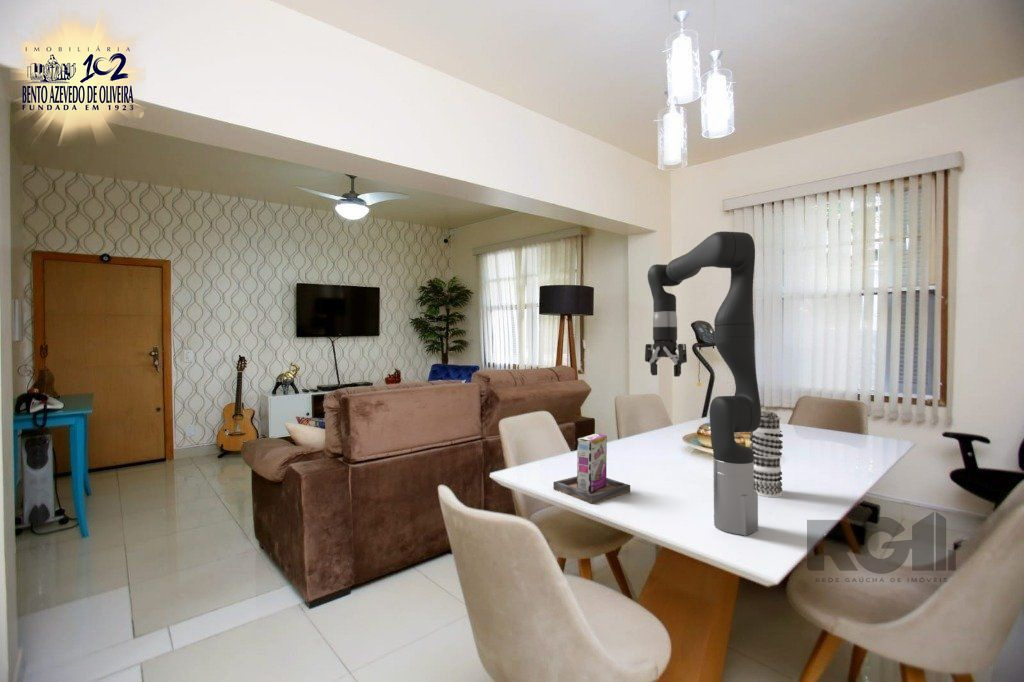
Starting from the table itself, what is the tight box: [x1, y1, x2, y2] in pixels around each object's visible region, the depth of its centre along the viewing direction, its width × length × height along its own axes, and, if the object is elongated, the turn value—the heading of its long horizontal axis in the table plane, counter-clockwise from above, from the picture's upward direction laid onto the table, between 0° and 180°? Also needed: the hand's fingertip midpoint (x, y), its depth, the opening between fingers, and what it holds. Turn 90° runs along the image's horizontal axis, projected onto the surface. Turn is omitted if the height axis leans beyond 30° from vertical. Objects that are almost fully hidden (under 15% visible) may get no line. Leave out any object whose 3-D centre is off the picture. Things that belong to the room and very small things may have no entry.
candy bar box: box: [576, 433, 608, 494], centre depth 145 cm, size 11×5×16 cm, turn 142°
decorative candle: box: [748, 410, 784, 498], centre depth 142 cm, size 9×9×25 cm
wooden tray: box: [553, 476, 631, 505], centre depth 145 cm, size 17×17×2 cm
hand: (665, 375), depth 148 cm, fingers open, 8 cm apart
